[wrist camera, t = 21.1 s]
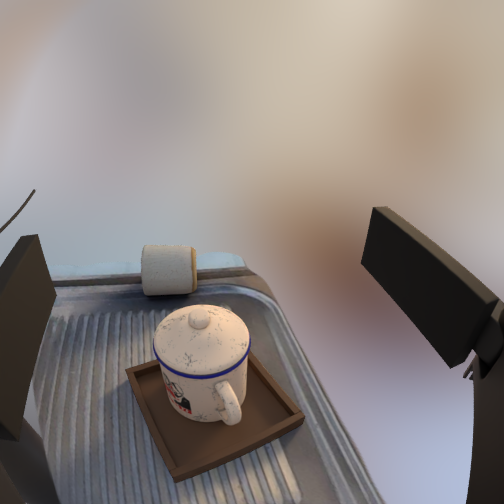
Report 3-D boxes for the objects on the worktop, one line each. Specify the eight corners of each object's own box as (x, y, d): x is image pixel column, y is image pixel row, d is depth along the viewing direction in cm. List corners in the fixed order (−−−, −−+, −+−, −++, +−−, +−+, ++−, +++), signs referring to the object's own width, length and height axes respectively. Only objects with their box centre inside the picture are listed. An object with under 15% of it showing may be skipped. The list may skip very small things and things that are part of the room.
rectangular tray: (128, 378, 34) (124, 369, 34) (235, 341, 41) (235, 331, 40) (175, 483, 24) (172, 477, 23) (303, 424, 31) (305, 415, 30)
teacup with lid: (156, 373, 35) (137, 296, 29) (226, 352, 39) (225, 274, 33) (193, 459, 26) (176, 397, 20) (276, 427, 30) (290, 355, 24)
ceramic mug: (199, 302, 48) (196, 257, 44) (145, 305, 46) (137, 261, 42) (196, 265, 57) (193, 225, 53) (150, 268, 55) (144, 228, 51)
